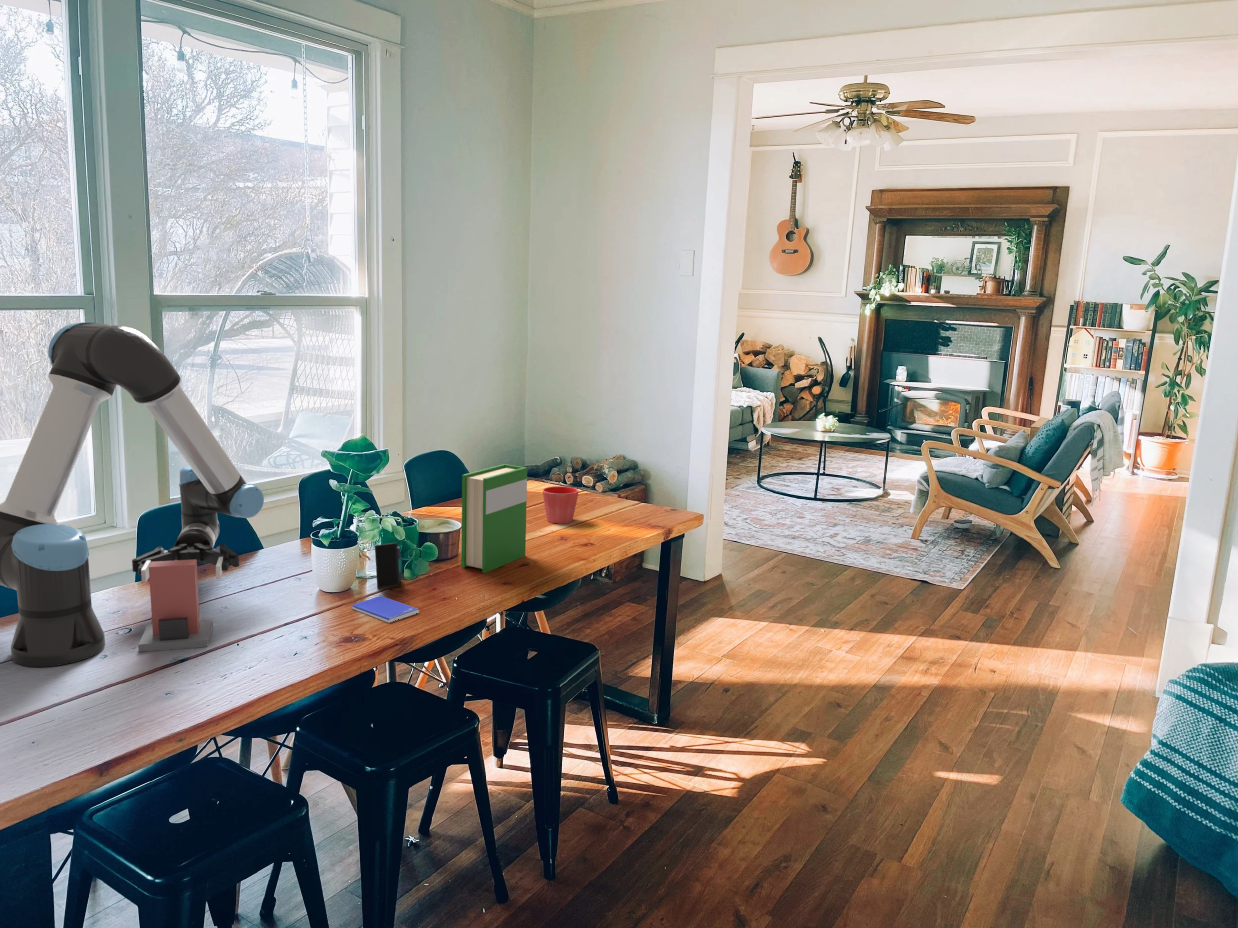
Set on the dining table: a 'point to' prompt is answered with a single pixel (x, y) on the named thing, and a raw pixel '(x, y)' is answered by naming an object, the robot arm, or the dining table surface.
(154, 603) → the red rectangular block
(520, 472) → the hardback book
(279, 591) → the dining table surface
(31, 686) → the dining table surface
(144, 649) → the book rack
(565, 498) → the flower pot
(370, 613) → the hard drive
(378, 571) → the speaker
